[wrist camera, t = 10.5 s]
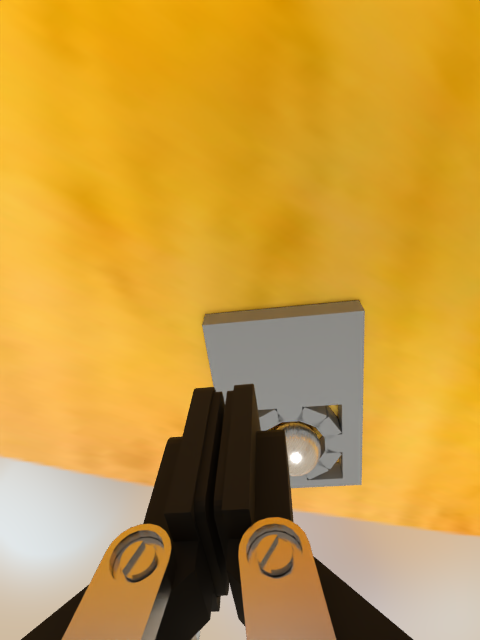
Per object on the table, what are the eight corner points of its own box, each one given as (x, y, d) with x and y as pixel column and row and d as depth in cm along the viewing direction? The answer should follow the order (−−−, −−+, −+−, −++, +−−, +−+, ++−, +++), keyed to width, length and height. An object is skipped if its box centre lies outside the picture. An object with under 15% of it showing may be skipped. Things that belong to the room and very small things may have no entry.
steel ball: (291, 465, 50) (256, 437, 49) (324, 433, 49) (290, 403, 48) (299, 497, 44) (260, 465, 43) (337, 461, 43) (298, 428, 42)
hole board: (358, 300, 41) (364, 310, 38) (356, 468, 51) (361, 484, 49) (205, 314, 42) (202, 325, 40) (234, 475, 53) (233, 490, 51)
